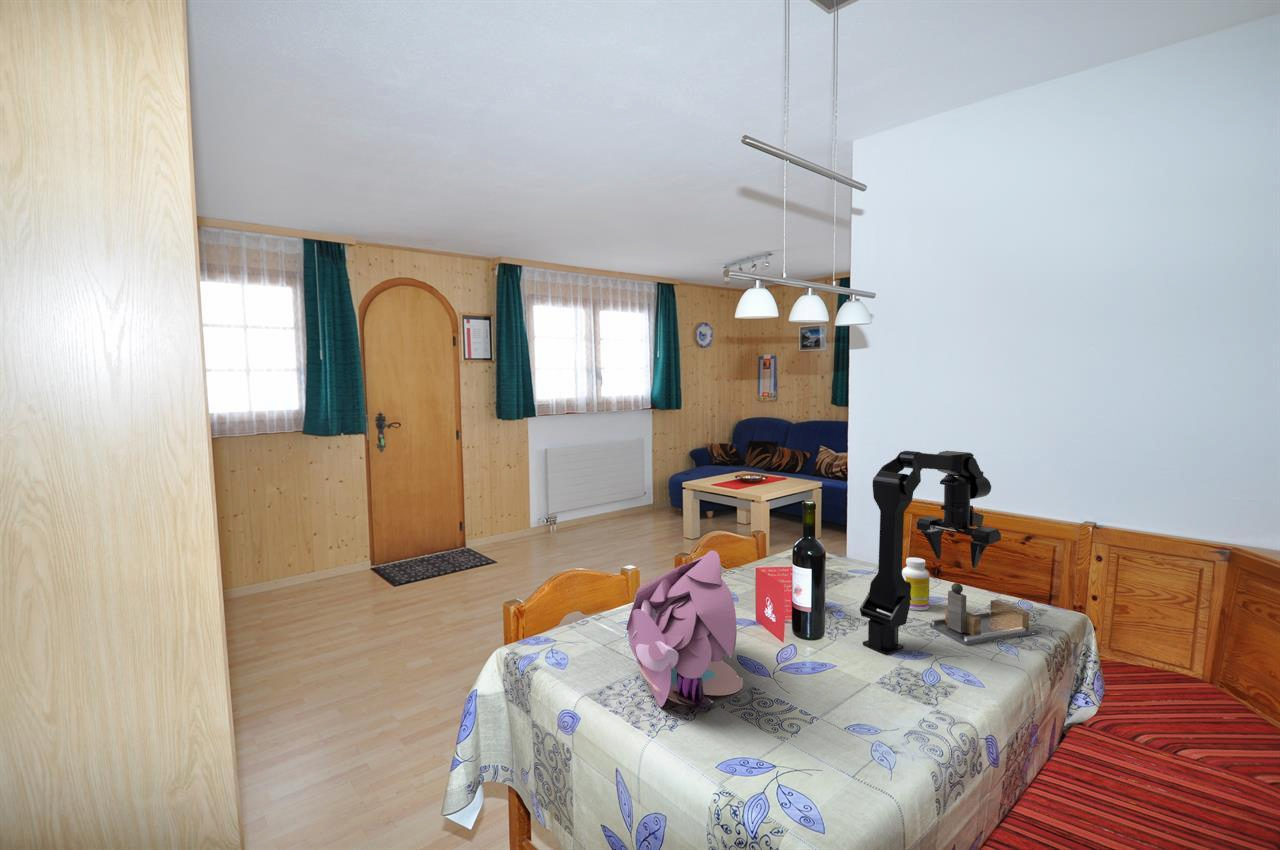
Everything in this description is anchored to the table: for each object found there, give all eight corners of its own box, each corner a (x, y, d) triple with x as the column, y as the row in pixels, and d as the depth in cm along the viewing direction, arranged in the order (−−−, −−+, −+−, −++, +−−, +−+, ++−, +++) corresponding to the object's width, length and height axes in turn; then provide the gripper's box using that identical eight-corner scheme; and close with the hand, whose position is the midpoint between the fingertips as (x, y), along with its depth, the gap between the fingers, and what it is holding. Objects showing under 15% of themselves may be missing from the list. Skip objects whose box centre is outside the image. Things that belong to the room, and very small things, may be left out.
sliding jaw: (966, 637, 135) (967, 589, 135) (938, 622, 144) (939, 578, 143) (980, 634, 136) (981, 587, 136) (951, 620, 145) (952, 576, 144)
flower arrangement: (773, 736, 109) (808, 591, 106) (657, 740, 100) (692, 583, 98) (694, 642, 141) (719, 529, 139) (601, 639, 133) (626, 519, 131)
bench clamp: (965, 645, 134) (965, 624, 134) (929, 626, 144) (929, 607, 144) (1037, 633, 140) (1038, 613, 139) (997, 616, 150) (998, 597, 150)
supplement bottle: (933, 611, 154) (934, 563, 154) (908, 611, 154) (908, 563, 154) (922, 602, 161) (922, 556, 160) (897, 602, 161) (898, 556, 160)
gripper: (1013, 503, 143) (1012, 566, 144) (940, 492, 159) (940, 549, 160) (988, 509, 137) (987, 575, 138) (915, 497, 153) (914, 556, 154)
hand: (956, 563), depth 148 cm, fingers open, 9 cm apart
